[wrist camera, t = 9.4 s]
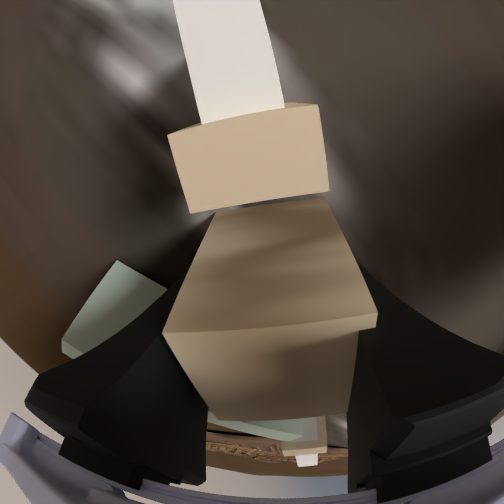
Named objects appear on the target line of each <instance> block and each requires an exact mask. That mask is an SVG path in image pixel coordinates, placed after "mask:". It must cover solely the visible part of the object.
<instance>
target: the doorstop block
mask: <svg viewBox="0 0 504 504" xmlns="http://www.w3.org/2000/svg"><path fill="white" fill-rule="evenodd" d="M377 315H378V312H377V309H376V306H375V304H374V302H373V299H372V297H371V294H370V292H369V290H368V287H367V285H366V283H365V280H364V278H363V276H362V273H361V271H360V269H359V267H358V264H357V262H356V260H355V258H354V256H353V254H352V251H351V249H350V247H349V245H348V243H347V241H346V239H345V237H344V235H343V233H342V231H341V229H340V227H339V225H338V223H337V221H336V219H335V217H334V215H333V213H332V211H331V209H330V207H329V205H328V203H327V201H326V199H325V198H324V197H319V198H311V199H303V200H295V201H288V202H280V203H273V204H266V205H259V206H253V207H246V208H240V209H233V210H227V211H221V212H216V213H215V215H214V217H213V219H212V221H211V223H210V225H209V227H208V230H207V232H206V234H205V236H204V238H203V240H202V242H201V244H200V247H199V249H198V251H197V253H196V255H195V258H194V260H193V262H192V264H191V266H190V269H189V271H188V273H187V275H186V278H185V280H184V282H183V284H182V287H181V289H180V291H179V294H178V296H177V298H176V300H175V303H174V305H173V308H172V310H171V312H170V315H169V317H168V319H167V322H166V324H165V327H164V329H163V332H162V334H163V336H164V337H165V339H166V341H167V343H168V344H169V346H170V348H171V349H172V351H173V353H174V355H175V356H176V358H177V360H178V361H179V363H180V364H181V366H182V368H183V369H184V371H185V372H186V374H187V376H188V377H189V379H190V380H191V382H192V383H193V385H194V386H195V388H196V389H197V391H198V392H199V394H200V395H201V397H202V398H203V400H204V401H205V403H206V404H207V406H208V407H209V408H210V410H211V411H212V413H213V414H214V415H215V417H216V418H217V420H218V421H270V420H288V419H300V418H310V417H319V416H327V415H334V414H341V413H347V411H348V405H349V400H350V394H351V388H352V382H353V376H354V369H355V361H356V353H357V345H358V336H359V330H364V329H369V328H375V327H376V321H377Z"/></svg>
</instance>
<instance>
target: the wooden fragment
mask: <svg viewBox="0 0 504 504" xmlns="http://www.w3.org/2000/svg"><path fill="white" fill-rule="evenodd" d="M206 450H209V451H216V452H218V451H222V452H224V453H226V454H229V455H231V456H234V455H235V456H238V455H239V456H240V455H243V456H244V457H251V458H253V459H258V460H259V461H263V462H271V463H289V462H291V463H294V462H295V463H297V461H296V458H295V456H284V455H283V452H282V440H277V439H272V438H267V437H266V438H264V437H247V436H237V435H228V434H218V433H211V432H207V433H206ZM343 457H348V449H347V448H346V449H345V448H332V447H327V452H326V453H319V454H318V463H323V462H324V461H326V460H334V459H338V458H343Z"/></svg>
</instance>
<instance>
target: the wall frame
mask: <svg viewBox="0 0 504 504" xmlns="http://www.w3.org/2000/svg"><path fill="white" fill-rule="evenodd" d="M173 4H174V8H175V13H176V17H177V22H178V26H179V31H180V35H181V39H182V44H183V48H184V52H185V57H186V61H187V65H188V69H189V74H190V78H191V82H192V86H193V90H194V94H195V99H196V103H197V107H198V111H199V115H200V119H201V122H200V123H198V124H195V125H192V126H189V127H187V128H184V129H181V130H179V131H176V132H174V133H171V134H169V135H167V136H168V140H169V144H170V147H171V151H172V154H173V158H174V161H175V165H176V168H177V172H178V175H179V178H180V182H181V185H182V188H183V192H184V195H185V198H186V201H187V204H188V208H189V211H190V214H191V213H197V212H202V211H207V210H212V209H218V208H223V207H229V206H235V205H241V204H246V203H252V202H259V201H265V200H271V199H278V198H284V197H291V196H298V195H305V194H312V193H320V192H328V191H329V182H328V173H327V164H326V156H325V148H324V141H323V134H322V127H321V121H320V115H319V109H318V105H316V104H304V103H290V102H288V103H284V101H283V96H282V91H281V86H280V81H279V77H278V72H277V68H276V63H275V59H274V55H273V50H272V46H271V42H270V38H269V34H268V30H267V26H266V22H265V19H264V15H263V11H262V8H261V4H260V0H173ZM282 452H283V455H284V456H295V458H296V461H297V464H298V467H302V466H313V465H317V462H318V454H319V453H326V452H327V436H326V423H325V416H319V417H310V418H303V436H302V437H299V438H297V439H294V440H291V441H289V442H287V441H282Z"/></svg>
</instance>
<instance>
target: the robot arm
mask: <svg viewBox="0 0 504 504" xmlns="http://www.w3.org/2000/svg"><path fill="white" fill-rule="evenodd" d="M355 260H356V259H355ZM356 262H357V264H358V267H359V269H360V271H361V273H362V276H363V278H364V280H365V283H366V285H367V287H368V290H369V292H370V294H371V297H372V299H373V302H374V304H375V306H376V309H377V312H378V315H377V321H376V327H375V328H369V329H364V330H359V336H358V345H357V353H356V361H355V369H354V376H353V382H352V388H351V394H350V400H349V405H348V411H347V413H346V414H347V433H348V494H342V495H334V496H324V497H314V498H313V497H312V498H294V499H292V498H291V499H269V498H248V497H236V496H226V495H218V494H210V493H204V492H198V491H192V490H187V489H183V488H178V487H174V486H170V485H169V484H170V483H174V484H179V485H180V484H181V483H185V484H191V485H196V486H198V485H200V484H202V483H203V482H205V481H206V433H207V419H208V406H207V404H206V403H205V401H204V400H203V398H202V397H201V395H200V394H199V392H198V391H197V389H196V388H195V386H194V385H193V383H192V382H191V380H190V379H189V377H188V376H187V374H186V372H185V371H184V369H183V368H182V366H181V364H180V363H179V361H178V360H177V358H176V356H175V355H174V353H173V351H172V349H171V348H170V346H169V344H168V343H167V341H166V339H165V337H164V336H163V334H162V332H163V329H164V327H165V324H166V322H167V319H168V317H169V315H170V312H171V310H172V308H173V305H174V303H175V300H176V298H177V296H178V294H179V291H180V289H181V287H182V284H183V282H184V280H185V278H186V275H187V273H188V271H189V269H190V268H189V269H188V270H187V271H186V272H185V273H184V274H183V275H182V276H181V277H180V278H179V279H178V280H177V281H176V282H175V283H174V284H173V285H172V286H171V287H170V288H169V289H168V290H166V291H165V292H164V293H163V294H162V295H161V296H160V297H159V298H158V299H157V300H156V301H155V302H154V303H152V304H151V305H150V306H149V307H148V308H147V309H146V310H145V311H144V312H143V313H141V314H140V315H139V316H138V317H137V318H135V319H134V320H133V321H132V322H130V323H129V324H128V325H127V326H125V327H124V328H123V329H121V330H120V331H119V332H117V333H116V334H114V335H113V336H111V337H110V338H108V339H107V340H105V341H104V342H102V343H101V344H99V345H98V346H96V347H94V348H93V349H91V350H89V351H88V352H86V353H84V354H82V355H80V356H79V357H77V358H75V359H73V360H71V361H69V362H67V363H65V364H62V365H60V366H58V367H56V368H53V369H51V370H48V371H46V372H44V373H41V374H39V375H38V377H37V378H36V380H35V382H34V383H33V386H32V387H31V389H30V391H29V393H28V395H27V397H26V399H25V401H24V402H25V405H26V407H27V408H28V409H29V410H30V411H31V412H32V413H33V414H34V415H35V416H36V417H38V418H39V419H40V420H42V421H43V422H44V423H45V424H47V425H48V426H49V427H51V428H52V429H54V430H55V431H56V432H58V433H59V434H61V435H62V436H63V437H65V438H64V440H63V443H62V445H61V444H59V443H57V442H55V441H54V440H52V439H50V438H48V437H47V436H45V435H43V434H42V433H40V432H39V431H38V430H36V429H35V428H34V427H33V426H31V425H30V424H29V423H27V422H26V421H25V420H23V419H22V418H20V417H19V416H17V415H16V414H14V413H11V414H10V416H9V418H8V420H7V422H6V425H5V427H4V429H3V431H2V434H1V436H0V463H1V464H2V465H3V466H4V467H5V468H6V470H7V471H8V472H9V473H10V474H11V476H12V477H13V478H14V480H15V481H16V483H17V484H18V486H19V487H20V489H21V490H22V491H23V493H24V494H25V496H26V497H27V498H28V499H29V501H30V502H31V504H144V503H141V502H137V501H134V500H131V499H128V498H127V497H126V496H125V493H124V492H123V490H124V491H127V492H130V493H132V494H135V495H138V496H141V497H144V498H147V499H151V500H154V501H157V502H160V503H164V504H401V503H403V504H504V439H503V440H501V441H499V442H498V443H496V444H494V445H492V446H490V445H489V441H488V437H487V436H489V435H490V434H491V433H492V428H491V424H490V421H491V420H492V419H493V418H494V417H495V416H496V415H497V414H498V413H499V412H501V411H502V410H503V409H504V355H501V354H499V353H496V352H494V351H491V350H489V349H486V348H484V347H481V346H479V345H477V344H474V343H472V342H470V341H468V340H466V339H464V338H462V337H460V336H458V335H456V334H454V333H452V332H450V331H448V330H446V329H445V328H443V327H441V326H439V325H438V324H436V323H434V322H433V321H431V320H429V319H428V318H426V317H424V316H423V315H421V314H420V313H418V312H417V311H415V310H414V309H412V308H411V307H410V306H408V305H407V304H406V303H404V302H403V301H401V300H400V299H399V298H397V297H396V296H395V295H394V294H392V293H391V292H390V291H389V290H388V289H387V288H385V287H384V286H383V285H382V284H381V283H380V282H379V281H377V280H376V279H375V278H374V277H373V276H372V275H371V274H370V273H369V272H368V271H367V270H366V269H365V268H364V267H363V266H362V265H361V264H360V263H359V262H358V261H357V260H356ZM121 489H122V490H121Z"/></svg>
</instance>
